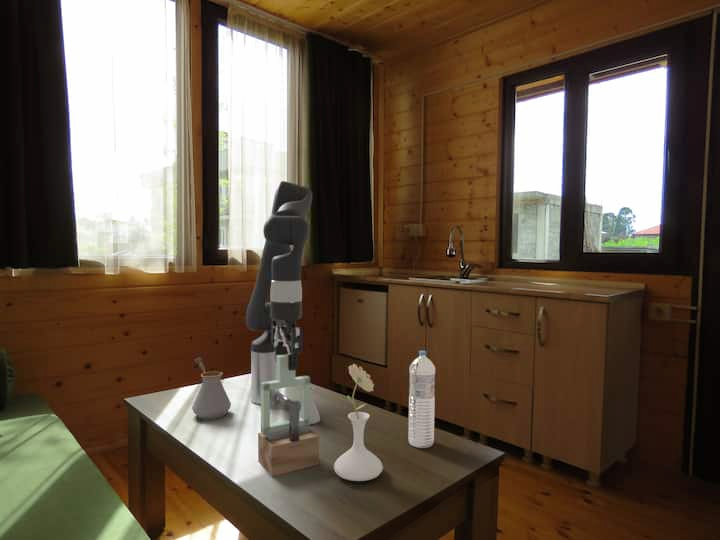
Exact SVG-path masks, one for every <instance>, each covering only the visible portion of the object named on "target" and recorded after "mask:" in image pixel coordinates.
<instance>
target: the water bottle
mask: <svg viewBox="0 0 720 540" xmlns="http://www.w3.org/2000/svg"><path fill="white" fill-rule="evenodd" d="M418 353H419V354H418V355H419V356H418V357H416V358H415V359H414V360H413V361H412V362H411V364H410V365H409V368H408V369H409V395H408V432H407V433H408V438H407V439H408V443H409V445H411V447H414V448H418V449H428V448H431V447H432V446H433V445H434V443H435V441H434V440H435V409H436V408H435V403H436V401H435V400H436V399H435V398H436V397H435V389H436V388H435V378H436V367H435V364H434V363H433V362H432V361H431V359H429V358H428V357H427V351H426V350H419V351H418Z"/></svg>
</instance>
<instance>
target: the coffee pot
mask: <svg viewBox="0 0 720 540" xmlns="http://www.w3.org/2000/svg"><path fill="white" fill-rule="evenodd" d="M194 361H195V363H197V364H199V368H200V371H201V372H202V373H201V374H200V377H201V379H202V382H201V383H202V384H201V385H200V388H199V390H198V393H197V395H196V398H195V400H194V402H193V404H192V407H191V410H192V411H193V414H195V416H197V417H198V418H199V419H201V420H207V421H208V420H217V419H220V418H222V417H224V416H225V414H226V413H228V411H230V409H231V405H232V403H231V401H230V399H229V397H228V394H227V391H226V390H225V387H224V385H223V384H222V381H221V379H222V376H224V375H223V374H224V372H221V371H216V370H215V371H206V368H205V365H204V364H203V362H202V361H203V359H202V358H201V357H197V358H195V360H194Z"/></svg>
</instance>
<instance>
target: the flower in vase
mask: <svg viewBox="0 0 720 540" xmlns="http://www.w3.org/2000/svg"><path fill="white" fill-rule="evenodd" d="M348 373H349V376H351V378H352V380H353V381H354V382H355V386H354V389H353V392H352V396H350V395H347V396H346V399H345V400H347V402H348V401H349V402H350V403H351V404H352V405H353V407H354V410H355V411H354V412H350V413H349V414H348V415H347V418H348V419H349V420H350V422H351V425H352V430H353V444H352V446H351V448H350V449H348V450H347V451H346V452H344V453H343V454H340V456H339V457H338V458H337V459H336V460H335V462H334V464H333V471H334V472H335V473H336V475H337V476H339V477H340V478H341V479H344V480H347V481H351V482H352V481H353V482H365V481H370V480H374V479H375V478H377V477H379V475H381V473H382V472H383V469H384V466H383V463H382V461H381V460H380V459H379V458H378V457H377V455H375V454H374V453H372V451H370V450H368V449H367V448H366V447H365V444H364V434H365V433H364V432H365V427H366V423H367V421H368V420H369V419H370V414H369V413H368V412H363V411H358V410H360V409H362V408H363V407H365V406H366V405H368V403H367V402H365V403H364V404H361V405H359V406H358V407H357V406H356V403H355V399H354V397H355V393H356V389H357V386H358V387H359V388H361V389H362V390H363V391H366V392H374V387H375V384H374V383H373V380H372V379H371V375H370V374H369V373H367V372H366V370H363V367H362V366H359V367H358V366H357V364H355V363H353V364H352V365H349V366H348Z"/></svg>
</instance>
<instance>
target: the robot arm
mask: <svg viewBox="0 0 720 540" xmlns="http://www.w3.org/2000/svg"><path fill="white" fill-rule="evenodd" d="M274 192H275V193H274V196H273V201H272V207H271V213H270V215H269V216H268V217H267V218H266V220H265V222H264V224H263V231H262V232H263V237H264V239H265V241H264V245H263V250H262V252H261V258H260V261H259V265H258V273H257V276H256V280H255V284H254V287H253V291H252V294H251V296H250V300H249V302H248V306H247V309H246V313H245V325H246V327H247V329H248V330H250V331H252V332H262V331H264V332H263V333H262V335H261V336H259V337H257V338H256V339H254V340H253V341H252V342H251V344H250V345H251V346H250V357H251V358H250V363H251V364H250V365H251V367H250V369H251V371H250V375H251V377H250V378H251V381H250V382H251V384H250V385H251V387H250V389H251V391H250V394H251V395H250V397H251V398H250V399H251V400H250V401H251V402H252V403H253V404H257V405H261V382H267V381H274V380H276V355H285V354H286V353H285V347H286V350H287V354H288V370H290V371H292V370H296V371H297V370H298V368H299V367H298V366H299V365H298V364H299V361H298V360H299V356H298V355H299V354H302V353H303V349H304V348H303V347H304V346H303V341H304V339H303V336H304V335H303V331H304V330H303V327H300V326H297V320H301V318H302V317H303V288H302V260H303V254H304V249H305V245H306V242H307V239H308V235H309V231H310V229H309V228H310V226H309V222H308V221H307V220H306V217H307V216H308V214H309V212H310V209H311V206H312V202H313V193H312V190H311V189H310V188H309V187H306V186H304V185H300V184H296V183H293V182H289V181H284V180H281V181H280V182H278V183H277V186H276V188H275V191H274ZM291 246H293V249H292V248H291ZM269 297H270V301H269V302H267V301H268V299H269ZM276 391H279V392H280V388H279V389H272V390H270V401H271V399H272V397H273V395H274V393H275V392H276ZM279 400H280V398H277V399H276V401H275V403H277V402H278V401H279Z"/></svg>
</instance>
